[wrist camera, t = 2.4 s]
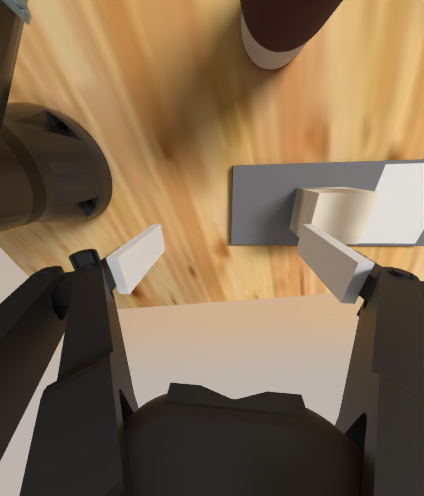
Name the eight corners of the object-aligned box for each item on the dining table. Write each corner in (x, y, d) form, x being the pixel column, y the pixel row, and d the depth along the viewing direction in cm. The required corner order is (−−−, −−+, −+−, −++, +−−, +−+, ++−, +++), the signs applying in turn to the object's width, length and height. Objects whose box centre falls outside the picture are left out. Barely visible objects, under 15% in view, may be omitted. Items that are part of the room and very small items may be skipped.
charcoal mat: (230, 242, 28) (231, 244, 27) (233, 165, 22) (233, 165, 22) (418, 243, 25) (424, 246, 25) (471, 158, 20) (480, 157, 19)
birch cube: (288, 227, 25) (306, 243, 20) (296, 187, 22) (319, 193, 17) (328, 227, 24) (357, 244, 19) (341, 186, 22) (379, 191, 16)
